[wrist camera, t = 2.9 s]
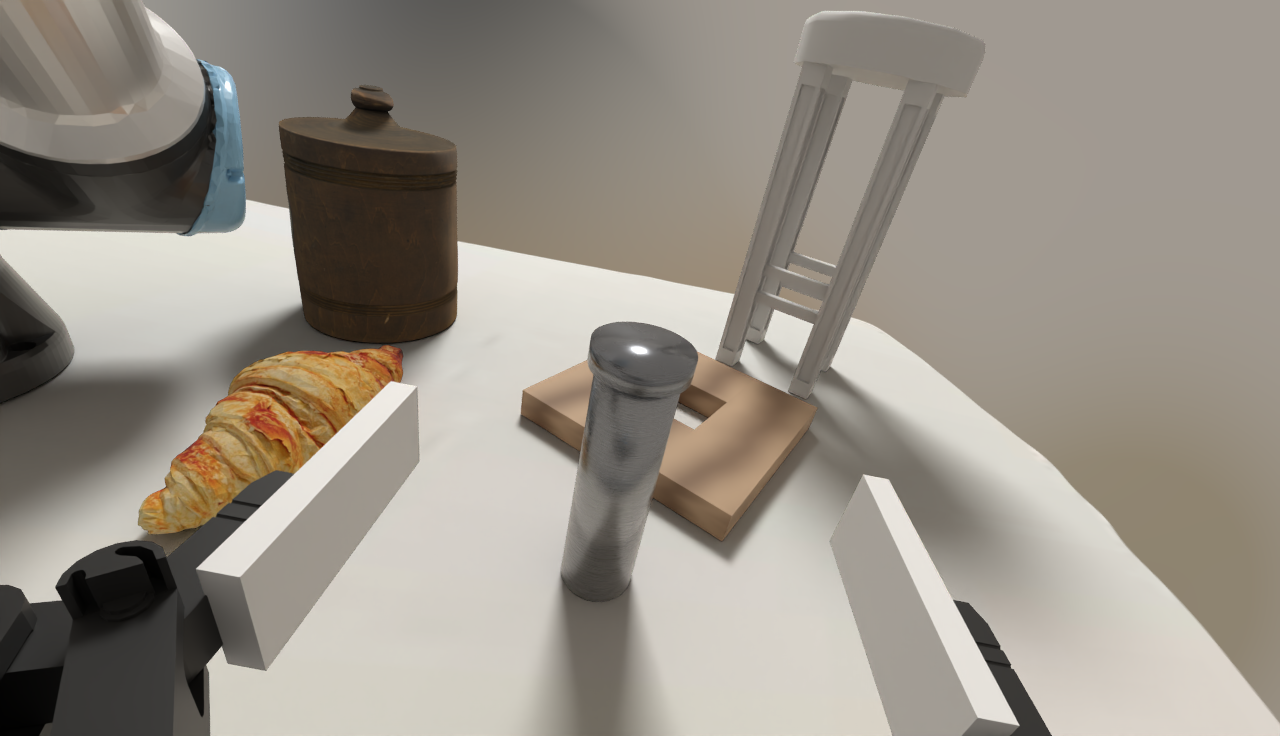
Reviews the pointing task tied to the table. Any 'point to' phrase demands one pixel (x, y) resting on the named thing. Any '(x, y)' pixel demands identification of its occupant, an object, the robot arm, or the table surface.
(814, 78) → the stool
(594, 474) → the link pin
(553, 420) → the keeper block
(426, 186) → the wooden container
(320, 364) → the croissant
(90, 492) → the table surface
